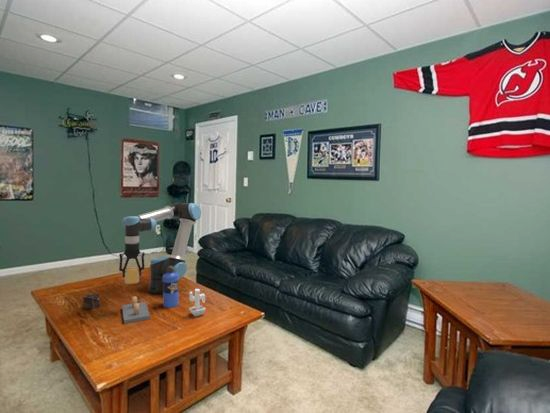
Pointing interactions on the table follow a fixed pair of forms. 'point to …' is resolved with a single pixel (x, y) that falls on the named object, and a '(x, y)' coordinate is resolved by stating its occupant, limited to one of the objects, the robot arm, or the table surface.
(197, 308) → the figurine
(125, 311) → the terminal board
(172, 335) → the table surface
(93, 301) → the box
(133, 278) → the tan rectangular block
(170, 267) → the water bottle
